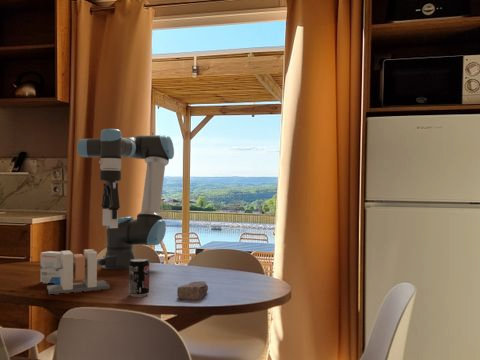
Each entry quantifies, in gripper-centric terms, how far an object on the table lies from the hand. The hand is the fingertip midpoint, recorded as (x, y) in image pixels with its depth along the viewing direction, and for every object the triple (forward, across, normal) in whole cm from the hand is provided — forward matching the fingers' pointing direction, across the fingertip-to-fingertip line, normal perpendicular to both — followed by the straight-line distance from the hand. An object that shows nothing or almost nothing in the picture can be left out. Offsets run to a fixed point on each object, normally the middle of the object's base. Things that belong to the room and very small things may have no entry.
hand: (109, 226), depth 158 cm
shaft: (+15, 0, -7) cm, 17 cm away
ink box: (+22, -16, -18) cm, 33 cm away
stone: (+22, +28, +22) cm, 42 cm away
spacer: (+18, 0, -11) cm, 21 cm away
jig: (+22, 0, -11) cm, 25 cm away
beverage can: (+22, +19, +6) cm, 30 cm away
